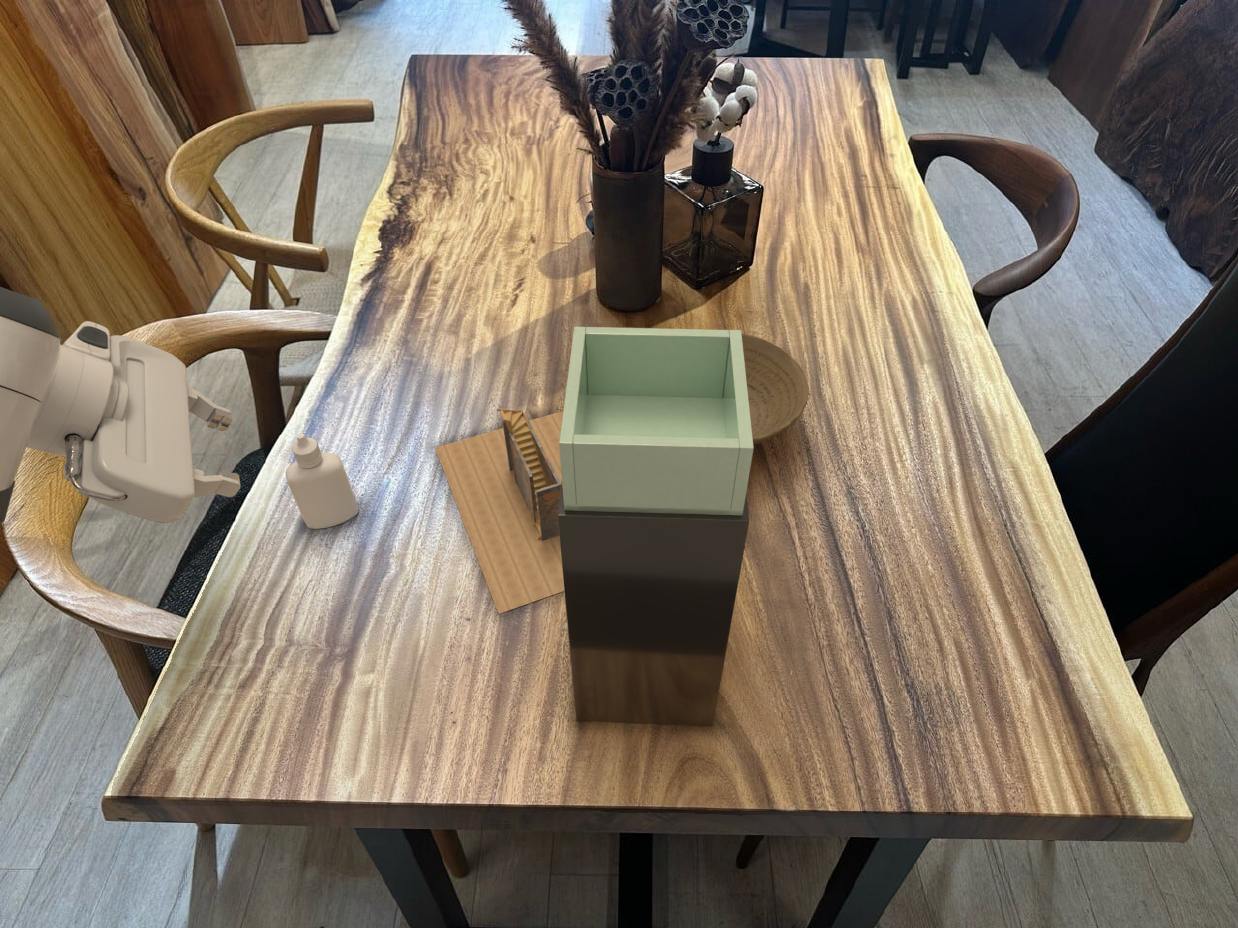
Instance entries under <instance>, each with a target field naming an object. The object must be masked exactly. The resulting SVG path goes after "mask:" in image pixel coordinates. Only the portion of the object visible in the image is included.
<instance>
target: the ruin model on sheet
mask: <svg viewBox="0 0 1238 928" xmlns="http://www.w3.org/2000/svg"><path fill="white" fill-rule="evenodd" d="M496 412H499V413H500V415H501V418H502V419H501V421H502V423H501V424H502V428H498V429H495V430H491V431H487V432H485V433H481V434H477V435H474V436H470V437H466V438H463V439H459V440H456V441H453V442H449V443H446V444H443V445H442V444H441V445H439V446H436V447H434V449H435V453H436V454H437V457H438V459H439V462H440V465H441V468H442V470H443V474H444V475H445V478H446V480H447V484H448V486H449V489H450V491H451V494H452V497H453V499H454V501H455V504H456V507H457V509H458V512H459V515H460V518H461V520H462V522H463V523H462V524H463V525H464V528H465V531H466V533H467V535H468V539H469V541H470V543H471V545H472V549H473V551H474V553H475V556H476V559H477V563H478V564H479V567H480V570H481V572H482V574H483V578H484V581H485V582H486V585H487V587H488V591H489V593H490V595H491V596H490V597H491V598H492V601H493V603H494V606H495V608H496V611H497V614H498V615H499V614H503V613H506V612H509V611H511V610H514V609H517V608H520V607H522V606H525V605H528V604H531V603H534V602H537V601H539V600H542V599H545V598H548V597H551V596H553V595H557V594H560V593H562V592H564V581H563V570H562V559H561V548H560V537H559V526H558V507H559V499H560V491H561V483H562V474H561V461H560V449H559V439H560V432H561V424H562V417H563V410H561V411H558V412H554V413H551V414H547V415H544V416H540V417H537V418H533V419H529V418H528V416H527V415H526V413H525V412H524V410H522V409H503V408H496Z"/></svg>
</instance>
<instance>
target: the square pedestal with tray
mask: <svg viewBox="0 0 1238 928" xmlns="http://www.w3.org/2000/svg"><path fill="white" fill-rule="evenodd" d="M742 333H743V332H742V330H741V329H708V328H707V329H703V328H658V327H657V328H656V327H655V328H654V327H610V326H609V327H607V326H574V327H573V335H572V341H571V349H570V357H569V365H568V372H567V381H566V387H565V393H564V394H565V395H564V402H563V409H562V411H563V417H562V424H561V432H560V439H559V449H560V461H561V474H562V483H561V491H560V499H559V507H558V526H559V537H560V548H561V559H562V570H563V581H564V591H563V592H564V603H565V612H566V613H565V614H566V623H567V634H568V636H567V637H568V646H569V657H570V658H569V659H570V669H571V678H572V690H573V691H572V692H573V700H574V711H575V721H576V722H586V723H587V722H588V723H610V724H611V723H613V724H614V723H615V724H641V725H645V724H646V725H665V726H666V725H667V726H695V727H696V726H697V727H713V726H714V724H715V717H716V712H717V706H718V701H719V695H720V690H721V683H722V678H723V672H724V667H725V662H726V661H725V660H726V656H727V650H728V644H729V639H730V632H731V627H732V623H733V622H732V621H733V616H734V609H735V604H736V598H737V593H738V588H739V582H740V577H741V571H742V564H743V559H744V553H745V547H746V542H747V537H748V530H749V525H750V514H749V503H748V492H747V490H748V485H749V479H750V472H751V468H752V467H751V466H752V460H753V454H754V448H755V447H754V445H753V437H752V428H751V419H750V409H749V400H748V390H747V381H746V371H745V362H744V352H743V343H742Z"/></svg>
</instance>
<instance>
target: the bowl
mask: <svg viewBox="0 0 1238 928" xmlns="http://www.w3.org/2000/svg"><path fill="white" fill-rule="evenodd" d="M741 333H742V343H743V352H744V362H745V371H746V381H747V390H748V400H749V409H750V419H751V428H752V437H753V446H755V445H758V444H762V443H764V442H767V441H769V440H772V439H774V438H776V437H777V436H779V435H781V434H782V433H784V432H785V431H787V430H788V429H789V428H790V427H792V425H794V424H795V423H796V422H797V421H798V419H800V417H801V415H802V414H803V412H804V410H805V408H806V406H807V403H808V399H809V392H810V388H809V382H808V379H807V376H806V375H805V372H804V370H803V369H802V367H801V366H800V364H798V362H797V361H796V359H795V358H793V357H792V355H790V354H789V353H788V352H787V351H785V350H784V349H782V348H781V347H779V346H777V345H776V344H775V343H773V342H770V341H768V340H766V339H764V338H761V337H759V336H756V335H752V334H748V333H743V332H741Z"/></svg>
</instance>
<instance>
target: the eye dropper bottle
mask: <svg viewBox="0 0 1238 928" xmlns="http://www.w3.org/2000/svg"><path fill="white" fill-rule="evenodd" d="M296 440H297V441H296V442H295V443H294V444H293V445H292V449H291V450H292V453H293V455H294V458H295V461H294V462H293V463H291V464H290V465H289V466H288V467H287V468H286V470H285V478H286V481H287V485H288V488H289V489H290V492H291V495H292V496H293V499H294V501H295V503H296V505H297V508H298V510H299V512H300V515H301V517H302V520H303V521H304V523H305V525H306V527H308V528H309V529H313V530H314V529H315V530H318V529H327V528H331V527H335V526H338V525H341V524H343V523H345V522H347V521H349V520H351V519H352V518H354V517H355V516H357V514H358V513H359V505H358V502H357V499H356V496H355V493H354V490H353V487H352V484H351V482H350V480H349V476H348V474H347V471H346V469H345V466H344V463H343V461H342V459H341V457H340V456H339V455H338V454H336V453H330V452H322V451H321V448H320V446H319V443H318V442H317V440H316V439H314V438H312V437H306V435H305V434H304V433H303V432H302V433H298V434H297V435H296Z"/></svg>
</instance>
